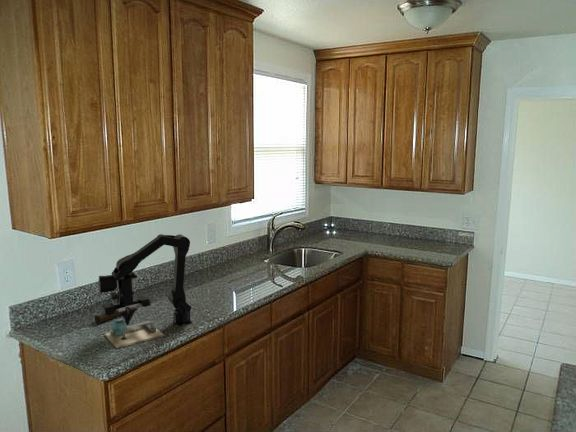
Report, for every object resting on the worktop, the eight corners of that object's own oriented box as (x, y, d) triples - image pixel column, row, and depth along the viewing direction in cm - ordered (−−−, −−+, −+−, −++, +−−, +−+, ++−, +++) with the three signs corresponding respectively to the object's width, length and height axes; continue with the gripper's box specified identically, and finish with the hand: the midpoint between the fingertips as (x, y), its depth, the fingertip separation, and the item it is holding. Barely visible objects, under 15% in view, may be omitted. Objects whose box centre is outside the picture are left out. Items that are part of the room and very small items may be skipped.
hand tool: (99, 325, 198) (99, 315, 197) (94, 323, 200) (93, 313, 199) (136, 312, 213) (135, 303, 212) (130, 310, 215) (130, 301, 215)
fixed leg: (150, 326, 195) (150, 318, 194) (156, 331, 190) (155, 323, 189) (145, 328, 193) (144, 319, 193) (150, 332, 189) (150, 324, 188)
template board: (149, 324, 199) (149, 322, 199) (163, 336, 187) (163, 334, 187) (105, 335, 187) (105, 333, 187) (117, 348, 176) (117, 346, 176)
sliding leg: (122, 329, 190) (121, 318, 189) (129, 336, 184) (128, 325, 183) (112, 332, 188) (111, 320, 187) (119, 339, 181) (118, 327, 180)
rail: (149, 325, 196) (149, 320, 196) (151, 326, 195) (151, 322, 195) (109, 335, 186) (109, 330, 186) (111, 336, 184) (110, 332, 184)
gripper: (140, 280, 198) (142, 313, 201) (96, 288, 187) (98, 323, 190) (150, 286, 190) (151, 321, 192) (104, 295, 178) (106, 332, 181)
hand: (127, 324), depth 189 cm, fingers closed
